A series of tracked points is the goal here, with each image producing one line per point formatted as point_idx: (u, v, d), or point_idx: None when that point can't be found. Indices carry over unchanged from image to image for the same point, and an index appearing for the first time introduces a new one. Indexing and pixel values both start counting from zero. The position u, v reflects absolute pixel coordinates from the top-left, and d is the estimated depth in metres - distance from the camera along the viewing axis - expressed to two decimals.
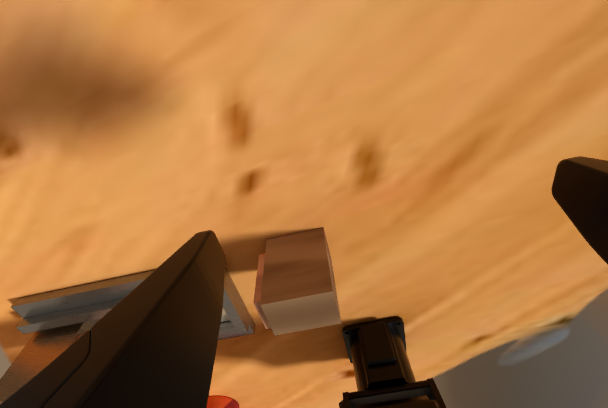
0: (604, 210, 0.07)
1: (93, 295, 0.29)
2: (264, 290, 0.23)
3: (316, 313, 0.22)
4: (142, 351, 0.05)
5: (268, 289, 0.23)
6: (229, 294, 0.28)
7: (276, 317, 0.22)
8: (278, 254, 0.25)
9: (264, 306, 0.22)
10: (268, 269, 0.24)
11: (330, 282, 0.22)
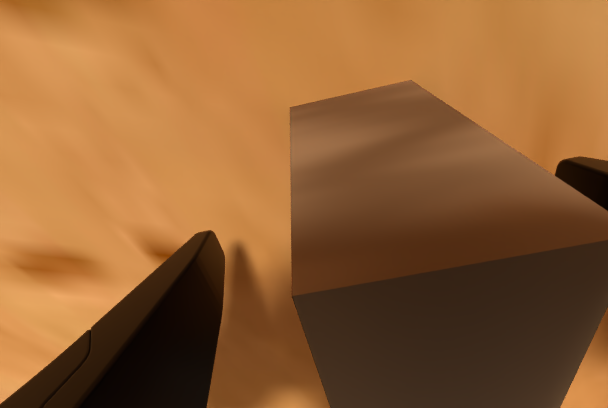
0: None
1: None
2: None
3: (465, 348, 0.04)
4: (142, 351, 0.05)
5: None
6: None
7: None
8: None
9: None
10: None
11: (293, 251, 0.04)
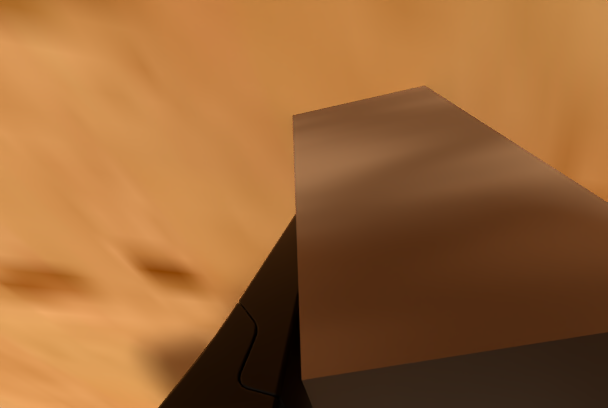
0: None
1: None
2: None
3: None
4: None
5: None
6: None
7: None
8: None
9: None
10: None
11: (301, 306, 0.03)
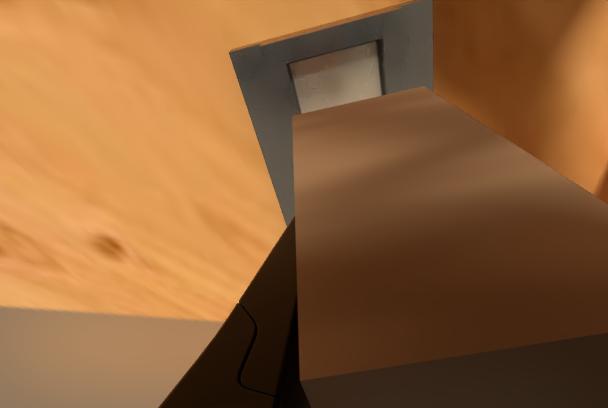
0: None
1: None
2: None
3: None
4: None
5: None
6: (289, 37, 0.15)
7: None
8: None
9: None
10: None
11: (300, 306, 0.03)
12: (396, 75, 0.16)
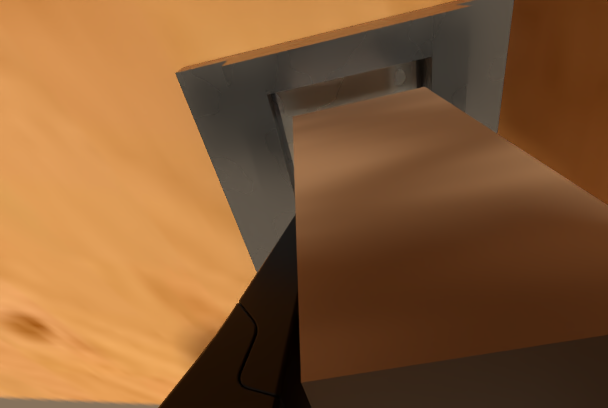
0: None
1: None
2: None
3: None
4: None
5: None
6: (274, 51, 0.09)
7: None
8: None
9: None
10: None
11: (301, 308, 0.03)
12: None
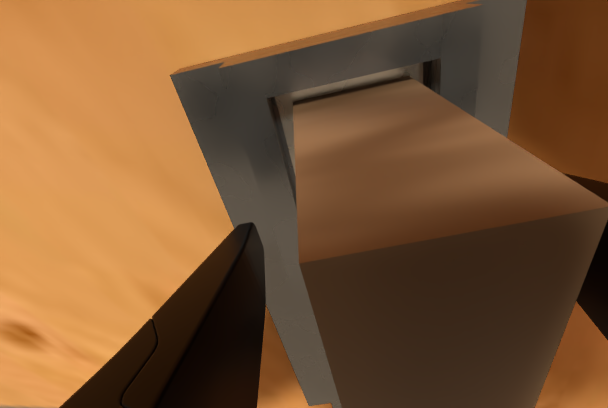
0: None
1: (289, 327, 0.16)
2: None
3: (457, 316, 0.04)
4: (208, 340, 0.05)
5: None
6: (274, 53, 0.08)
7: None
8: None
9: None
10: None
11: (299, 227, 0.04)
12: None
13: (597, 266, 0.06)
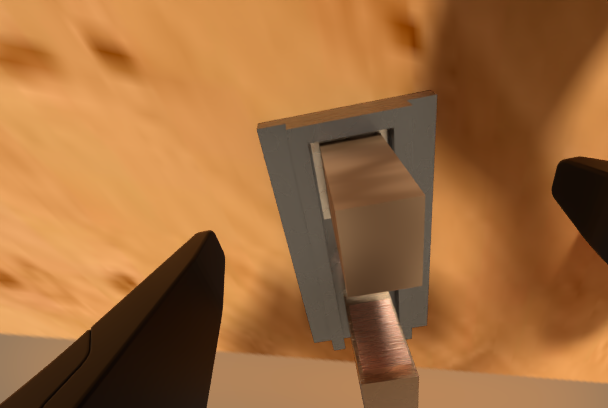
0: (604, 210, 0.07)
1: (305, 279, 0.24)
2: (343, 275, 0.16)
3: (385, 233, 0.13)
4: (142, 351, 0.05)
5: (342, 271, 0.16)
6: (312, 122, 0.17)
7: (380, 282, 0.15)
8: (332, 220, 0.18)
9: (351, 293, 0.15)
10: (337, 246, 0.18)
11: (332, 201, 0.13)
12: (403, 156, 0.18)
13: None
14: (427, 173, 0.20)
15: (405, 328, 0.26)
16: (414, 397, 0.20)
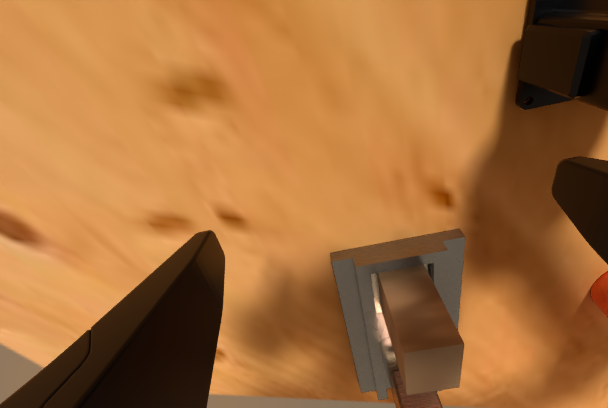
0: (604, 210, 0.07)
1: (358, 350, 0.31)
2: (401, 375, 0.22)
3: (436, 362, 0.19)
4: (142, 351, 0.05)
5: (400, 372, 0.22)
6: (374, 260, 0.23)
7: (430, 386, 0.21)
8: (387, 325, 0.25)
9: (409, 393, 0.21)
10: (393, 347, 0.24)
11: (400, 341, 0.19)
12: (440, 278, 0.24)
13: None
14: (456, 282, 0.26)
15: None
16: None
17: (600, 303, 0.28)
